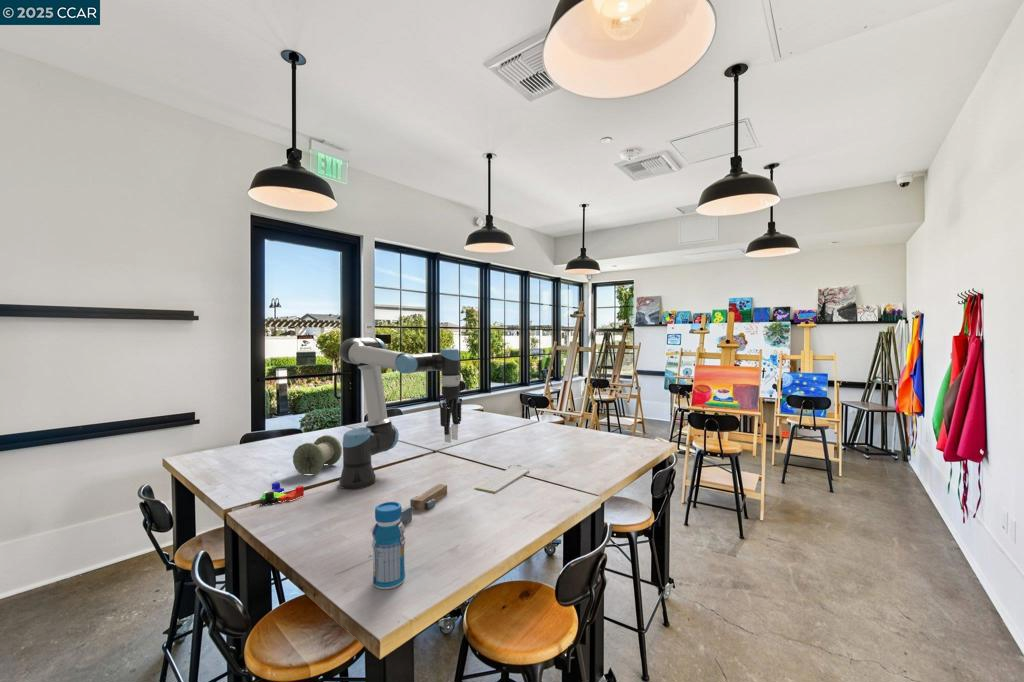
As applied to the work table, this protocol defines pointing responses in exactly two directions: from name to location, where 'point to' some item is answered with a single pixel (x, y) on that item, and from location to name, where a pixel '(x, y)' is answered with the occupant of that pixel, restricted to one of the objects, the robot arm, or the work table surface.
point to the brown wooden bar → (429, 496)
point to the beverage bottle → (388, 546)
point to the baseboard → (502, 480)
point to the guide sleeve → (428, 504)
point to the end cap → (406, 514)
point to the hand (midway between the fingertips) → (451, 440)
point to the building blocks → (280, 494)
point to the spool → (317, 454)
